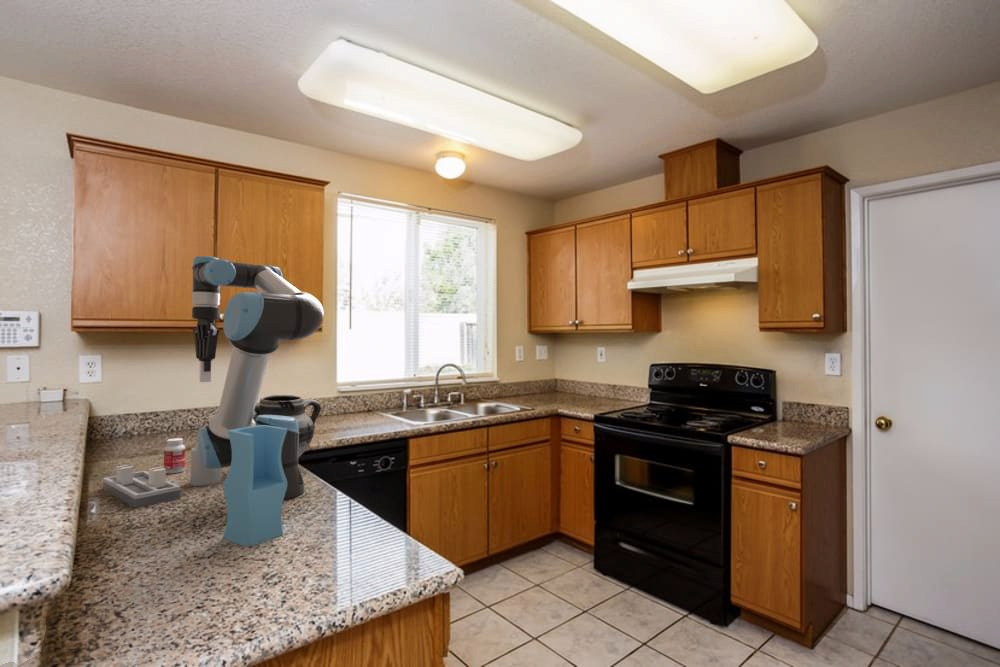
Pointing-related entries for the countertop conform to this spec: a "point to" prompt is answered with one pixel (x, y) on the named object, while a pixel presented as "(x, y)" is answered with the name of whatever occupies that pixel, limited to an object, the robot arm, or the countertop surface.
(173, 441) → the pill bottle
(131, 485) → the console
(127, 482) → the fader
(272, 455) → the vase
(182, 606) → the countertop surface
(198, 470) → the mug
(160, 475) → the fader
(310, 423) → the ceramic pot
